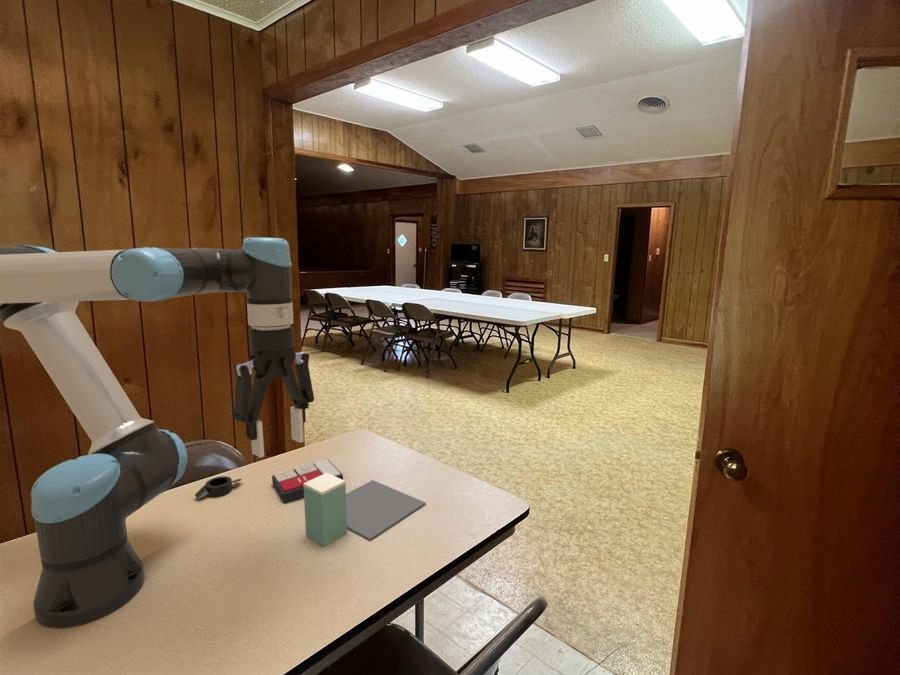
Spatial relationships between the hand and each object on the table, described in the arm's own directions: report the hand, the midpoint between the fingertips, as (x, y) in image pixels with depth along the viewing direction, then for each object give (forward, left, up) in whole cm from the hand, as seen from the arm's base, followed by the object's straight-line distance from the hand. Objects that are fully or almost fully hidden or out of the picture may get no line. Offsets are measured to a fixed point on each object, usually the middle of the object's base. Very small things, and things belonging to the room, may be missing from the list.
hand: (278, 447), depth 87 cm
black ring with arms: (-35, +5, -24) cm, 43 cm away
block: (0, +10, -23) cm, 25 cm away
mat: (0, +23, -23) cm, 33 cm away
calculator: (-20, +20, -24) cm, 37 cm away
